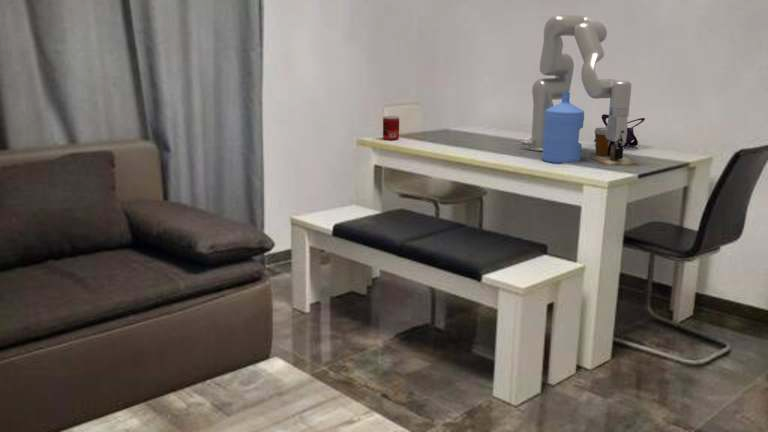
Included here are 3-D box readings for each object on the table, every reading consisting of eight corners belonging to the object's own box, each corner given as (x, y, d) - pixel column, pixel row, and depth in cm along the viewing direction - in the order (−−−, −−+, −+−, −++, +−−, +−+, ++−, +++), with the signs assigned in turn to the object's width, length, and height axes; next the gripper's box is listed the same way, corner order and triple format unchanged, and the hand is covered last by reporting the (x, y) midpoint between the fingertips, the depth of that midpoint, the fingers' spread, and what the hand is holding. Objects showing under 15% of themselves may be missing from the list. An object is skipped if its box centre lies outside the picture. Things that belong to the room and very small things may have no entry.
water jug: (557, 165, 290) (562, 94, 283) (534, 158, 304) (538, 91, 297) (588, 162, 296) (594, 93, 289) (564, 156, 310) (569, 90, 303)
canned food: (401, 139, 354) (402, 116, 351) (393, 141, 347) (393, 118, 344) (388, 137, 358) (388, 115, 355) (379, 139, 351) (380, 117, 348)
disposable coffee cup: (611, 159, 305) (614, 131, 302) (589, 157, 310) (591, 129, 307) (617, 156, 313) (620, 128, 310) (595, 154, 318) (598, 126, 315)
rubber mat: (600, 168, 285) (600, 165, 285) (585, 161, 300) (585, 158, 300) (644, 167, 287) (644, 165, 287) (626, 160, 302) (627, 158, 302)
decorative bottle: (652, 149, 332) (657, 94, 326) (612, 151, 326) (617, 95, 319) (622, 142, 353) (627, 90, 346) (584, 143, 346) (589, 90, 340)
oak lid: (604, 165, 286) (606, 148, 284) (591, 159, 299) (592, 142, 298) (638, 165, 287) (640, 148, 286) (623, 158, 301) (625, 142, 299)
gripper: (601, 110, 296) (597, 153, 301) (618, 115, 280) (614, 161, 284) (618, 110, 297) (614, 153, 302) (637, 115, 280) (632, 161, 285)
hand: (614, 156), depth 293 cm, fingers open, 6 cm apart
